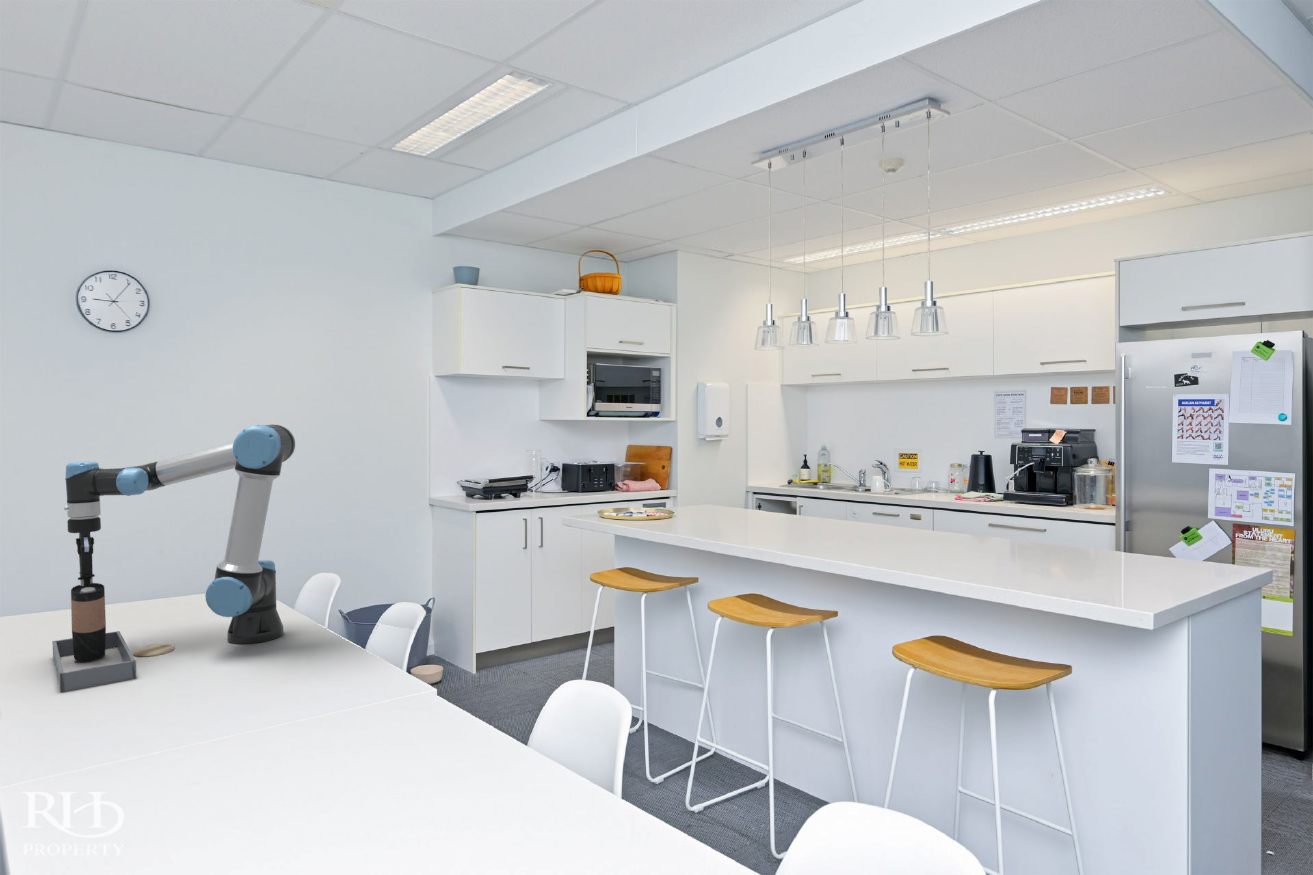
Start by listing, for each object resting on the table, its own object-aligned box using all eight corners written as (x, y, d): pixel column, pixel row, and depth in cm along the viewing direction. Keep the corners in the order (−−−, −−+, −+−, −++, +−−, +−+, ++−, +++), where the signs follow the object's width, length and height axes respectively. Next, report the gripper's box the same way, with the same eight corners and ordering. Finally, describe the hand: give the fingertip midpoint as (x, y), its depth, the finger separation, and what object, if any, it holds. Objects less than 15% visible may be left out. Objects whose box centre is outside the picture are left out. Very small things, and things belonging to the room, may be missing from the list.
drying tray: (53, 657, 225) (52, 641, 225) (119, 646, 235) (119, 630, 235) (60, 692, 196) (59, 673, 196) (136, 678, 206) (135, 660, 206)
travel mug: (93, 663, 220) (91, 594, 216) (65, 660, 220) (63, 591, 216) (113, 651, 227) (111, 584, 223) (86, 648, 227) (84, 581, 223)
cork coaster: (181, 646, 234) (181, 644, 234) (160, 656, 224) (160, 655, 224) (147, 646, 234) (147, 644, 234) (124, 657, 224) (124, 655, 224)
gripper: (66, 516, 227) (69, 599, 228) (68, 521, 217) (72, 608, 217) (98, 513, 231) (101, 595, 232) (102, 518, 221) (105, 603, 222)
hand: (87, 601), depth 225 cm, fingers closed
